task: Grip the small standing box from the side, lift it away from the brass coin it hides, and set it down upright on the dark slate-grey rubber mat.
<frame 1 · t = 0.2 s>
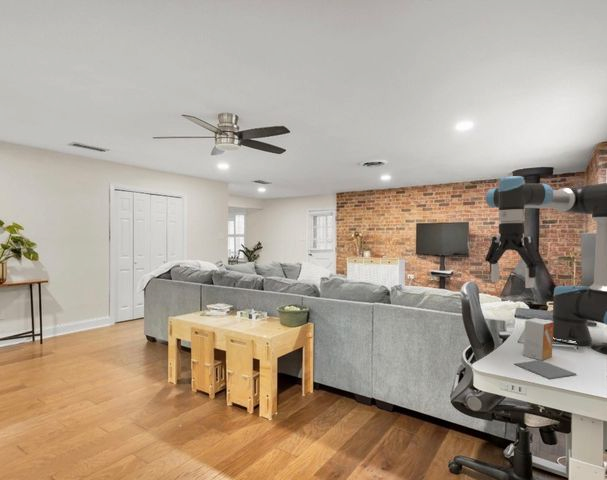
hand: (511, 284, 120), 27 cm above the table, tool pointing down, fingers open, 13 cm apart
brass coin: (539, 351, 133), on the table
slate mat: (544, 369, 115), on the table
small box: (537, 356, 128), on the table
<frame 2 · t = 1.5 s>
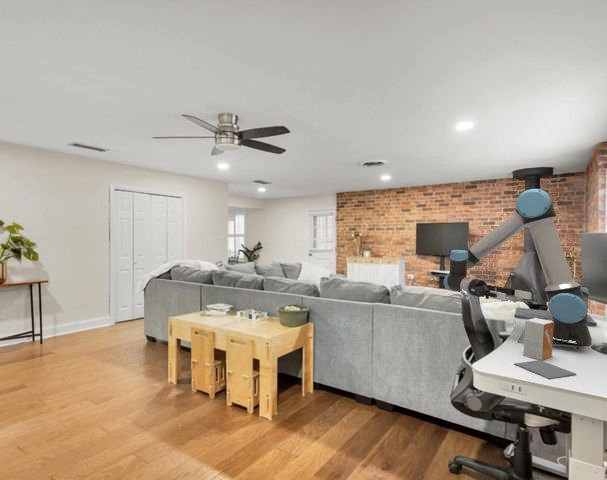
hand: (518, 296, 135), 20 cm above the table, tool horizontal, fingers open, 13 cm apart
nothing on the table moved.
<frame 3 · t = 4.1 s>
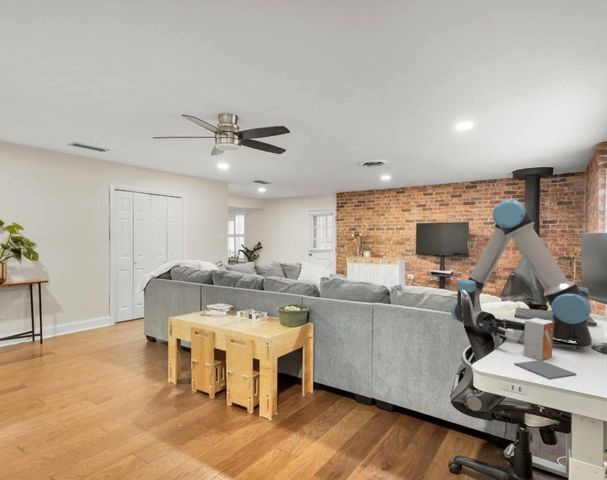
hand: (527, 334, 131), 7 cm above the table, tool horizontal, fingers open, 13 cm apart
nothing on the table moved.
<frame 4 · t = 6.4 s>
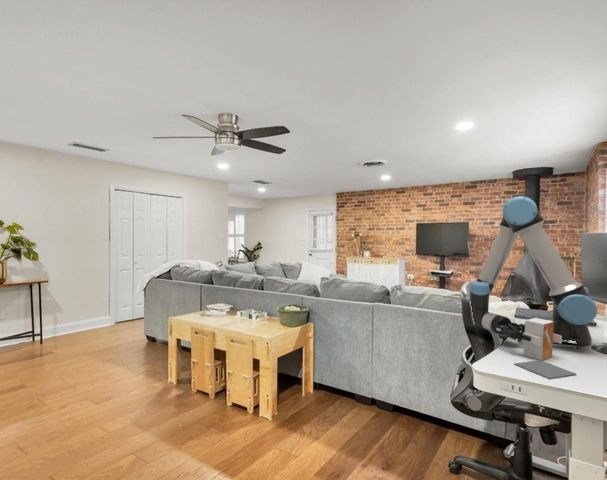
hand: (550, 340, 123), 7 cm above the table, tool horizontal, fingers closed on small box, 9 cm apart
small box: (537, 356, 128), on the table, touching gripper
everything else where it was.
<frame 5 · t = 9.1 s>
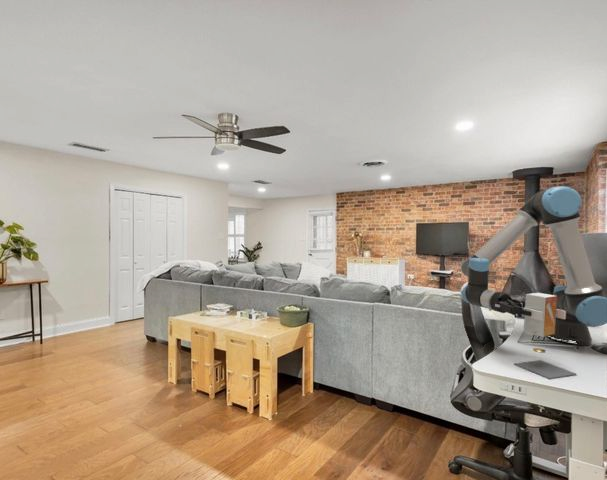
hand: (553, 315, 113), 18 cm above the table, tool horizontal, fingers closed on small box, 9 cm apart
small box: (539, 333, 118), point 11 cm above the table, touching gripper
everything else where it was.
when the fingers open (9 cm above the table, at t = 12.0 s): small box drops 2 cm, resting on slate mat.
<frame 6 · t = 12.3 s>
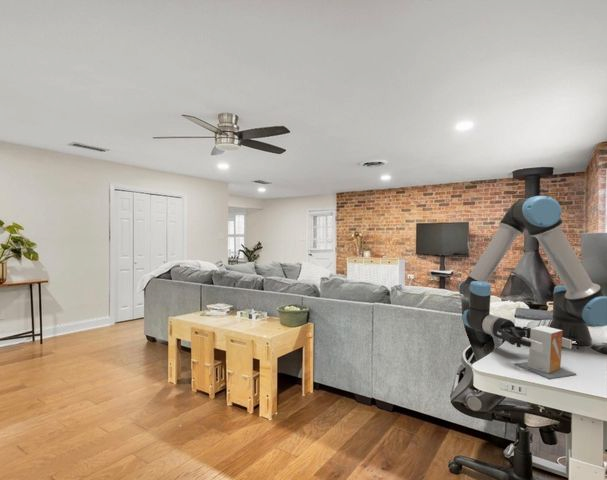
hand: (556, 346, 111), 9 cm above the table, tool horizontal, fingers open, 12 cm apart
small box: (544, 368, 115), resting on slate mat
everything else where it was.
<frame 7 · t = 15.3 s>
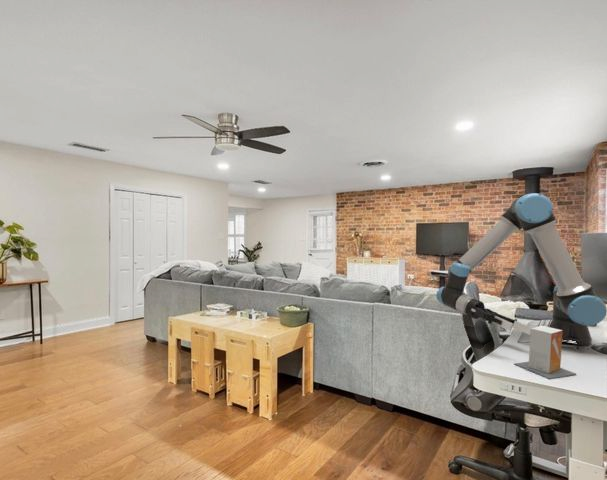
hand: (521, 329, 126), 10 cm above the table, tool horizontal, fingers open, 13 cm apart
nothing on the table moved.
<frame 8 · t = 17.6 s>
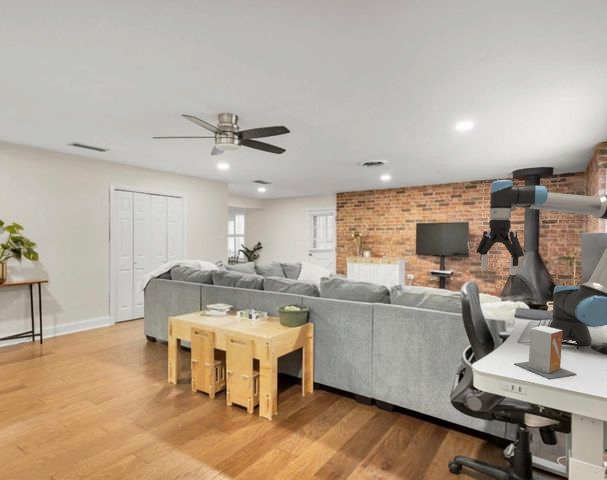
hand: (497, 272, 141), 29 cm above the table, tool pointing down, fingers open, 13 cm apart
nothing on the table moved.
at the end: small box inside the target area on the slate mat (0.1 cm from its centre), point 0.2 cm above the slate mat's base; small box tilted 0°; the gripper is holding nothing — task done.
